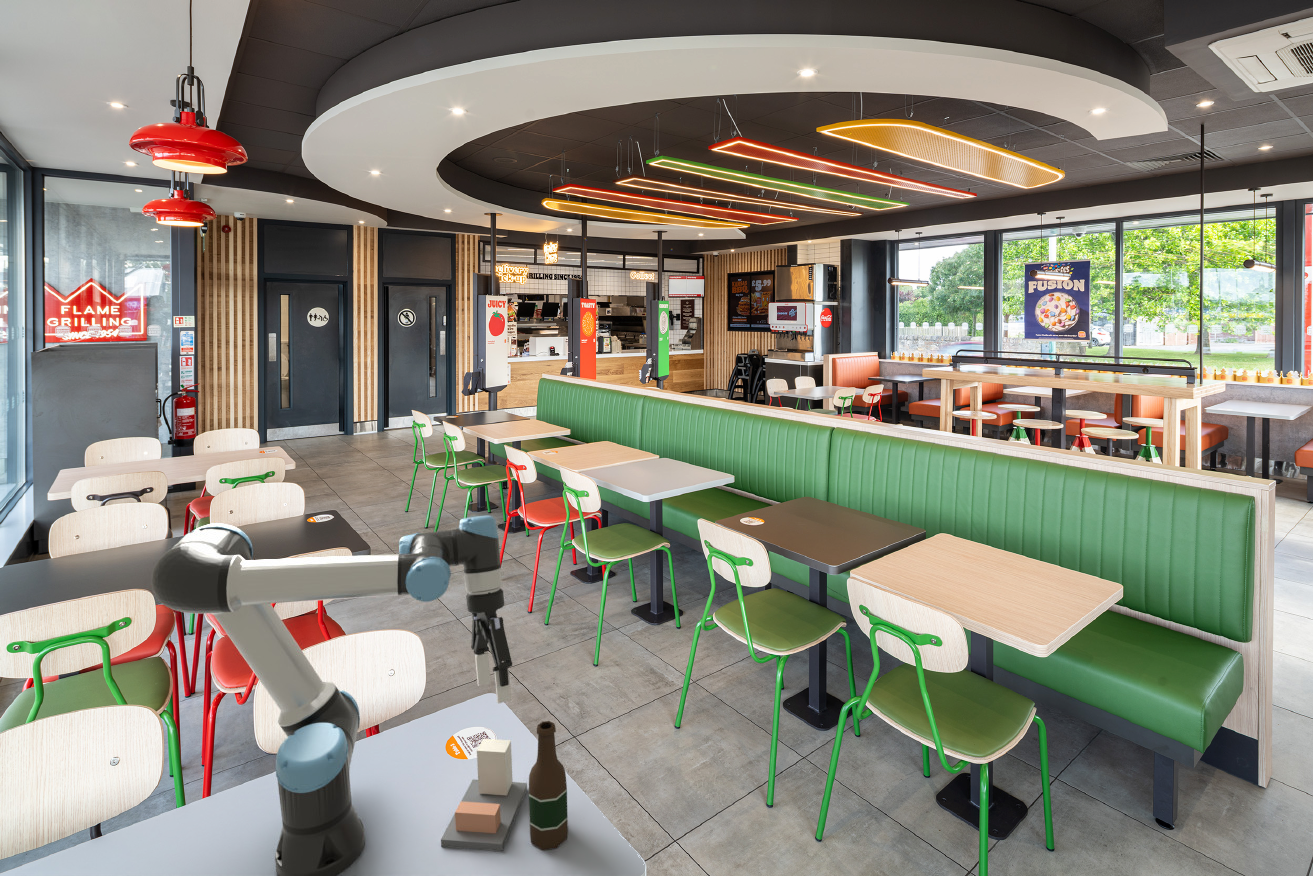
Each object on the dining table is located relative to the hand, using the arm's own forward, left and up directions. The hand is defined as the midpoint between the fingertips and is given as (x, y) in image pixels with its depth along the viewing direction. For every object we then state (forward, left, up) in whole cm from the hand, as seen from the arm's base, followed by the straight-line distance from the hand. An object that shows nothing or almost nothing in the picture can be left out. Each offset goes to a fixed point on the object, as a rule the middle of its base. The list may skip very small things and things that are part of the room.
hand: (494, 692), depth 138 cm
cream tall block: (0, -1, -22) cm, 22 cm away
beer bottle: (+14, -11, -24) cm, 29 cm away
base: (0, -7, -23) cm, 24 cm away
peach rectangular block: (0, -11, -22) cm, 25 cm away
